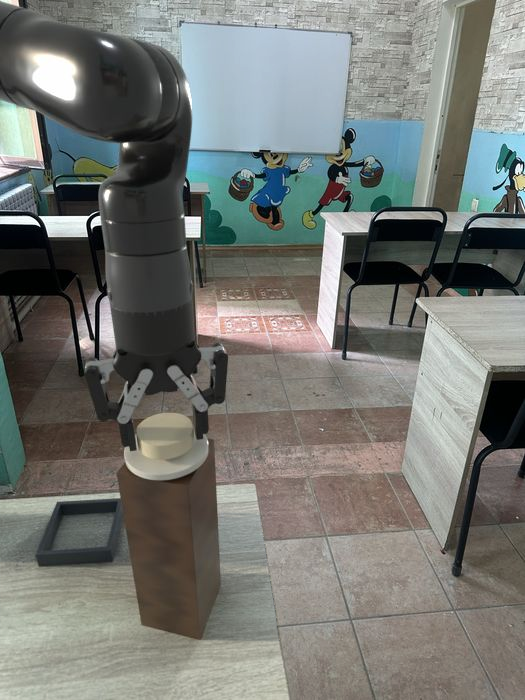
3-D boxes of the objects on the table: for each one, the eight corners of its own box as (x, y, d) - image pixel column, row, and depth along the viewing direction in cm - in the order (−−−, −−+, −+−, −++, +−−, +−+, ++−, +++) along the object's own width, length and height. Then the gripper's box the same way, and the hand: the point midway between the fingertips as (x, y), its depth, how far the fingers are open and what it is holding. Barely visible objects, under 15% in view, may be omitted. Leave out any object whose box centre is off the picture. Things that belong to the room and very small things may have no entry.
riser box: (142, 631, 61) (116, 473, 50) (168, 578, 68) (150, 428, 57) (201, 646, 60) (188, 486, 48) (221, 590, 67) (214, 439, 55)
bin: (40, 572, 69) (35, 555, 67) (61, 518, 78) (56, 501, 77) (113, 567, 70) (110, 550, 68) (125, 514, 79) (123, 497, 78)
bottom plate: (109, 475, 50) (107, 466, 49) (148, 425, 57) (147, 417, 57) (191, 490, 48) (190, 481, 47) (219, 437, 55) (219, 428, 55)
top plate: (128, 459, 50) (125, 440, 49) (153, 426, 55) (151, 409, 54) (181, 468, 49) (180, 449, 48) (202, 434, 54) (201, 416, 53)
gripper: (219, 276, 49) (224, 412, 57) (71, 288, 46) (97, 431, 53) (236, 301, 43) (239, 451, 50) (65, 317, 39) (95, 476, 47)
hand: (166, 440), depth 52 cm, fingers open, 6 cm apart
